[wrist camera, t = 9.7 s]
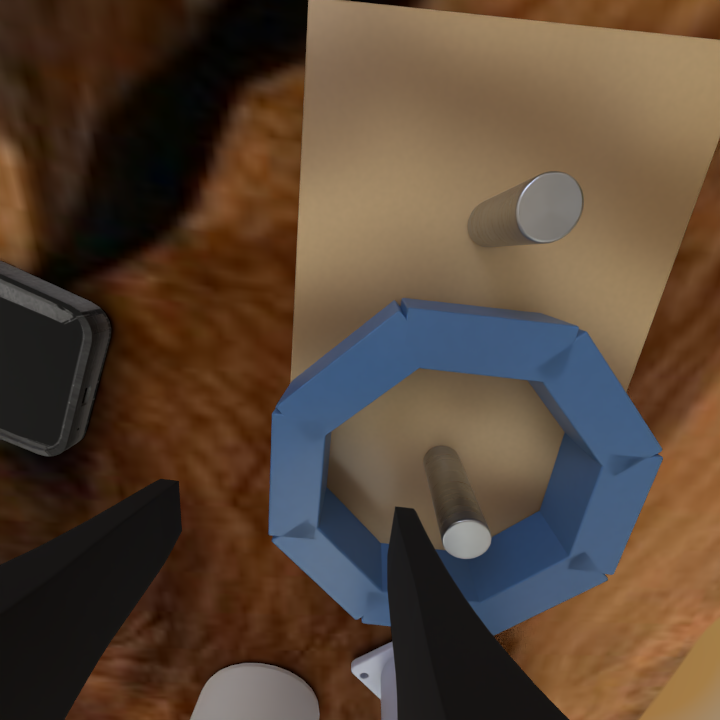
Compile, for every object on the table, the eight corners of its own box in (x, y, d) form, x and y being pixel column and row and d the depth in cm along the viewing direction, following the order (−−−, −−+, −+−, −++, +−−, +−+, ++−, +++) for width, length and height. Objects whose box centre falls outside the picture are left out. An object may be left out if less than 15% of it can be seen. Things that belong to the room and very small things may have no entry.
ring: (650, 325, 13) (715, 341, 11) (552, 593, 17) (582, 649, 15) (293, 285, 13) (274, 292, 11) (280, 561, 17) (265, 612, 15)
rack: (547, 558, 18) (620, 687, 13) (288, 528, 18) (251, 644, 13) (718, 63, 12) (1019, -105, 6) (314, 20, 12) (263, -182, 6)
